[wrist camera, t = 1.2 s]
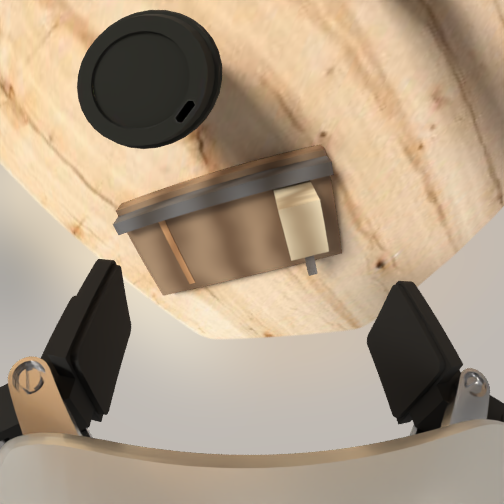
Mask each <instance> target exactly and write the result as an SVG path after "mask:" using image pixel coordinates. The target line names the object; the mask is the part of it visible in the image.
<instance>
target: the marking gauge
mask: <svg viewBox="0 0 504 504" xmlns="http://www.w3.org/2000/svg"><path fill="white" fill-rule="evenodd" d="M273 190H274V195H275V199H276V203H277V208H278V212H279V216H280V219H281V223H282V227H283V231H284V234H285V238H286V242H287V246H288V250H289V253H290V257H291V261H293V260H297V259H301V258H305V261H306V266H307V270H308V274H309V276H310V275H314V274H317V269H316V264H315V259H314V255H317V254H321V253H325V252H329V248H328V242H327V236H326V230H325V224H324V219H323V213H322V208H321V203H320V199H319V197H318V195H317V193H316V191H315V189H314V187H313V186H312V184H311V182H310V180H309V181H305V182H301V183H297V184H293V185H289V186H285V187H281V188H277V189H273Z"/></svg>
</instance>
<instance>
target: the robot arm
mask: <svg viewBox="0 0 504 504" xmlns="http://www.w3.org/2000/svg"><path fill="white" fill-rule="evenodd" d="M130 332H131V321H130V317H129V311H128V306H127V300H126V295H125V289H124V283H123V277H122V270H121V267H120V266H119V265H116V262H115V261H114V260H105V259H98V260H97V261H96V263H95V264H94V266H93V268H92V269H91V271H90V273H89V274H88V276H87V278H86V280H85V281H84V283H83V285H82V287H81V288H80V290H79V292H78V294H77V296H74V297H72V298H71V300H70V301H69V303H68V305H67V307H66V309H65V310H64V313H63V314H62V316H61V318H60V320H59V322H58V324H57V326H56V328H55V330H54V332H53V334H52V336H51V338H50V340H49V342H48V344H47V346H46V348H45V350H44V352H43V354H42V357H41V358H37V357H26V358H23V359H21V360H19V361H18V362H16V363H15V364H14V365H13V366H12V368H11V370H10V372H9V375H8V384H6V385H4V386H2V387H0V504H504V403H502V402H500V401H499V400H497V399H496V398H494V397H492V396H490V387H489V384H488V381H487V379H486V378H485V376H484V375H483V374H482V373H481V372H479V371H478V370H475V369H472V368H467V369H465V370H463V371H462V372H460V370H459V369H460V368H461V367H462V365H463V363H462V361H461V360H460V358H459V356H458V354H457V352H456V350H455V349H454V347H453V345H452V344H451V342H450V340H449V338H448V337H447V335H446V333H445V331H444V330H443V328H442V326H441V325H440V323H439V321H438V320H437V318H436V317H435V315H434V313H433V312H432V310H431V308H430V307H429V305H428V304H427V302H426V300H425V299H424V297H423V296H422V294H421V293H420V291H419V290H418V288H417V287H416V285H415V284H414V283H413V282H408V281H398V282H397V283H396V285H393V286H392V288H391V290H390V292H389V294H388V296H387V299H386V301H385V303H384V305H383V307H382V309H381V311H380V313H379V315H378V317H377V319H376V321H375V323H374V325H373V327H372V329H371V330H370V332H369V334H368V337H367V345H368V347H369V350H370V353H371V355H372V358H373V361H374V363H375V366H376V369H377V372H378V374H379V377H380V380H381V383H382V386H383V388H384V391H385V394H386V397H387V400H388V402H389V406H390V409H391V411H392V414H393V416H394V417H396V418H397V421H398V424H402V423H407V422H410V421H411V420H413V422H414V426H413V428H412V431H411V433H410V436H407V437H403V438H399V439H394V440H390V441H385V442H380V443H374V444H369V445H363V446H357V447H351V448H344V449H336V450H328V451H319V452H308V453H295V454H277V455H222V454H221V455H220V454H204V453H191V452H180V451H171V450H163V449H155V448H147V447H140V446H134V445H128V444H122V443H117V442H112V441H106V440H101V439H95V438H93V437H92V435H91V434H90V432H89V430H88V427H89V426H90V422H91V420H95V421H99V422H101V421H102V417H103V414H105V415H107V414H108V412H109V408H110V404H111V400H112V396H113V393H114V389H115V385H116V381H117V377H118V374H119V370H120V367H121V363H122V360H123V356H124V353H125V349H126V346H127V342H128V339H129V336H130Z"/></svg>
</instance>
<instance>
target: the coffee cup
mask: <svg viewBox="0 0 504 504" xmlns="http://www.w3.org/2000/svg"><path fill="white" fill-rule="evenodd" d="M221 82H222V63H221V59H220V54H219V51H218V48H217V46H216V44H215V42H214V40H213V38H212V37H211V36H210V35H209V33H208V32H207V31H206V30H205V29H204V27H202V26H201V25H200V24H198V23H197V22H196V21H194V20H193V19H191V18H189V17H187V16H185V15H183V14H180V13H176V12H172V11H167V10H148V11H143V12H138V13H134V14H131V15H129V16H126V17H124V18H122V19H120V20H118V21H117V22H115V23H114V24H112V25H111V26H109V27H108V28H107V29H106V30H105V31H104V32H103V33H102V34H100V35H99V36H98V38H97V39H96V40H95V41H94V42H93V44H92V45H91V46H90V48H89V49H88V50H87V52H86V54H85V56H84V58H83V61H82V63H81V66H80V70H79V74H78V83H77V90H78V99H79V102H80V106H81V109H82V111H83V113H84V115H85V117H86V119H87V120H88V122H89V123H90V124H91V125H92V126H93V128H94V129H95V130H97V131H98V132H99V133H100V134H101V135H103V136H104V137H106V138H108V139H110V140H112V141H114V142H116V143H118V144H120V145H124V146H127V147H131V148H141V149H147V148H158V147H161V146H165V145H168V144H172V143H174V142H176V141H178V140H180V139H182V138H184V137H186V136H187V135H188V134H190V133H191V132H193V131H194V130H195V129H197V128H198V126H199V125H200V124H201V123H202V122H203V121H204V120H205V119H206V118H207V116H208V115H209V113H210V112H211V110H212V109H213V107H214V105H215V103H216V100H217V98H218V95H219V93H220V87H221Z"/></svg>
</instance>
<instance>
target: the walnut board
mask: <svg viewBox="0 0 504 504" xmlns="http://www.w3.org/2000/svg"><path fill="white" fill-rule="evenodd" d="M330 175H334V174H333V168H332V163H331V161H330V159H329V158H328V157H327V156H326V151H325V149H324V147H323V146H322V145H316V146H312V147H308V148H303V149H299V150H295V151H291V152H287V153H283V154H279V155H275V156H271V157H267V158H263V159H259V160H256V161H252V162H248V163H245V164H241V165H238V166H234V167H231V168H227V169H224V170H220V171H217V172H214V173H210V174H207V175H204V176H201V177H197V178H194V179H191V180H188V181H185V182H182V183H179V184H176V185H173V186H170V187H167V188H164V189H161V190H158V191H155V192H152V193H150V194H147V195H144V196H141V197H138V198H136V199H133V200H130V201H127V202H125V203H122V204H121V205H120V206H119V208H118V209H117V210H116V212H117V214H118V218H117V219H116V221H115V222H114V224H113V226H114V227H115V229H116V231H117V233H118V235H121V234H124V233H128V235H129V237H130V239H131V241H132V242H133V244H134V246H135V248H136V250H137V251H138V253H139V255H140V257H141V259H142V260H143V262H144V264H145V266H146V267H147V269H148V271H149V272H150V274H151V276H152V278H153V279H154V281H155V283H156V284H157V286H158V288H159V289H160V291H161V293H162V294H163V295H168V294H172V293H177V292H181V291H186V290H190V289H195V288H199V287H203V286H208V285H212V284H217V283H221V282H225V281H229V280H234V279H238V278H242V277H246V276H251V275H255V274H259V273H263V272H267V271H272V270H276V269H280V268H284V267H288V266H292V265H296V264H300V263H304V262H306V261H305V258H301V259H297V260H293V261H291V257H290V253H289V250H288V246H287V242H286V238H285V234H284V231H283V227H282V223H281V219H280V216H279V212H278V208H277V203H276V199H275V195H274V190H273V189H277V188H281V187H285V186H289V185H293V184H297V183H301V182H305V181H309V180H310V182H311V184H312V186H313V187H314V189H315V191H316V193H317V195H318V197H319V199H320V203H321V208H322V213H323V219H324V224H325V230H326V236H327V242H328V248H329V252H325V253H321V254H317V255H314V259H315V260H316V259H320V258H324V257H328V256H332V255H336V254H340V253H342V249H341V241H340V234H339V227H338V220H337V213H336V207H335V201H334V195H333V189H332V183H331V177H330Z"/></svg>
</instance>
